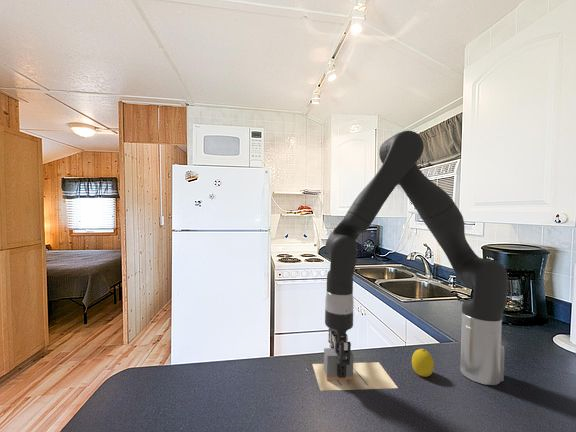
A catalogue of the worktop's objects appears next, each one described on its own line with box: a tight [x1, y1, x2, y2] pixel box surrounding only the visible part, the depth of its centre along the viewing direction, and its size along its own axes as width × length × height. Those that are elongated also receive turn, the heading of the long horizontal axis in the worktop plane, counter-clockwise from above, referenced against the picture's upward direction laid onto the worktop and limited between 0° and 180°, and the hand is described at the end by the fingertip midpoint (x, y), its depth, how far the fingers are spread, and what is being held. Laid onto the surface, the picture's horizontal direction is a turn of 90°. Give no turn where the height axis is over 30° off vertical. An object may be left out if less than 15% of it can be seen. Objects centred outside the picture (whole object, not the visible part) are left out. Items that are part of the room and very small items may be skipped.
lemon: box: [411, 348, 435, 378], centre depth 76 cm, size 6×6×8 cm
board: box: [312, 361, 399, 392], centre depth 75 cm, size 20×12×1 cm, turn 95°
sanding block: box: [323, 347, 354, 380], centre depth 74 cm, size 7×4×6 cm, turn 95°
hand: (337, 369), depth 74 cm, fingers open, 6 cm apart
